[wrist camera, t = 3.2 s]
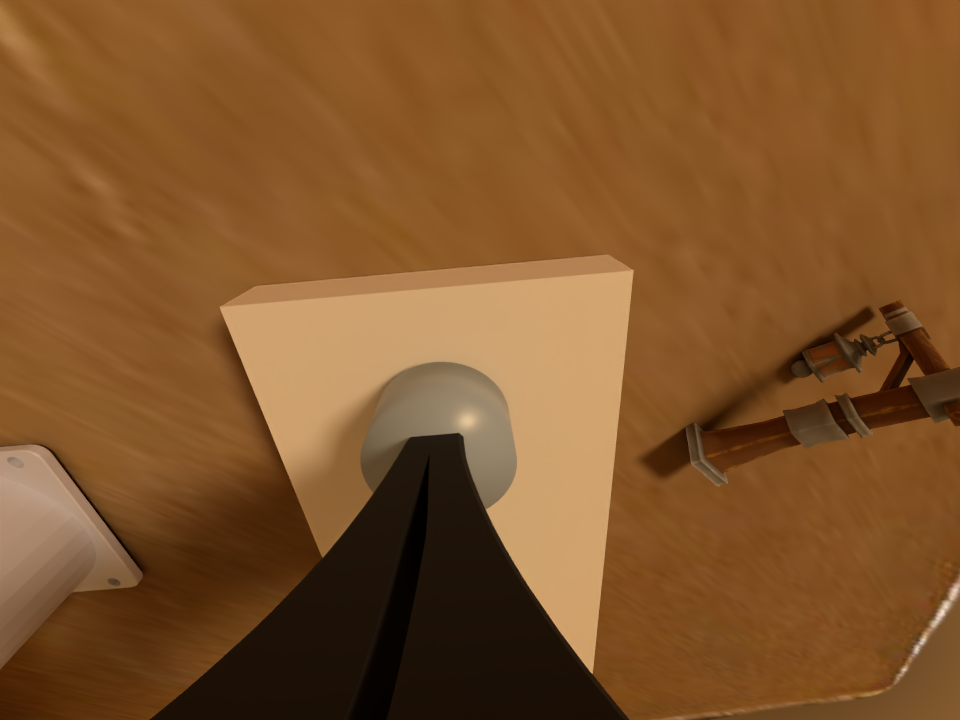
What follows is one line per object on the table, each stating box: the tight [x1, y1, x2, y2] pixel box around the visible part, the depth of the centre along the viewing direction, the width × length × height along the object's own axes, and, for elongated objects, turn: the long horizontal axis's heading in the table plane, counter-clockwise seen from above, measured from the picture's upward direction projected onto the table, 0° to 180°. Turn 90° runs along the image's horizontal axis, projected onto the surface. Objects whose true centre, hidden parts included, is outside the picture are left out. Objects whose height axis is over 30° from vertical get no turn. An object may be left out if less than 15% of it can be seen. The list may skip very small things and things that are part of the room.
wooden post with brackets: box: [686, 300, 960, 487], centre depth 13 cm, size 2×8×4 cm, turn 139°
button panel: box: [220, 255, 633, 674], centre depth 16 cm, size 11×24×2 cm, turn 5°
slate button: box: [360, 362, 517, 509], centre depth 11 cm, size 4×4×2 cm
